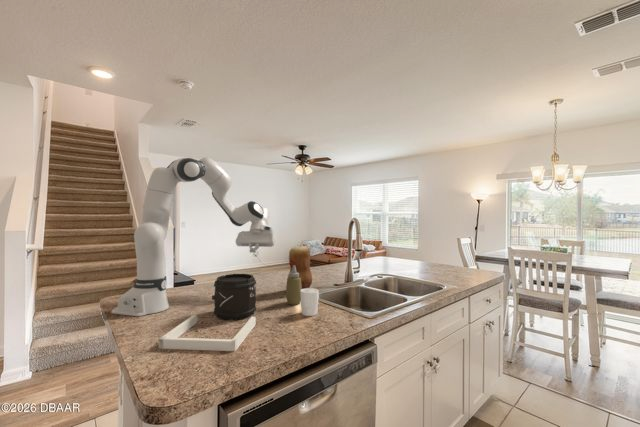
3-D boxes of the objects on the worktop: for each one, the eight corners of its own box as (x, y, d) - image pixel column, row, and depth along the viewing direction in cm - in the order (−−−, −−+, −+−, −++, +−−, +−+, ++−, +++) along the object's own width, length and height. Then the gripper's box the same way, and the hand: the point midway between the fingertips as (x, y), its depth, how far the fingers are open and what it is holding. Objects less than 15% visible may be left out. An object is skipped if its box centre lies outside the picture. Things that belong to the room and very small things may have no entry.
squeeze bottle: (305, 303, 144) (306, 265, 144) (293, 306, 138) (293, 267, 138) (294, 299, 149) (294, 263, 149) (281, 303, 143) (282, 265, 143)
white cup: (321, 312, 131) (321, 289, 131) (313, 317, 124) (313, 293, 124) (305, 309, 134) (305, 287, 134) (297, 315, 127) (297, 291, 127)
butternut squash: (282, 291, 165) (282, 245, 165) (301, 287, 174) (301, 244, 174) (298, 296, 155) (299, 248, 155) (317, 291, 164) (317, 246, 164)
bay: (158, 348, 96) (158, 339, 96) (193, 322, 118) (193, 314, 118) (235, 351, 94) (235, 341, 94) (255, 324, 116) (255, 316, 116)
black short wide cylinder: (212, 309, 134) (212, 274, 134) (253, 305, 140) (253, 272, 139) (211, 323, 117) (211, 283, 117) (257, 319, 122) (257, 280, 122)
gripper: (237, 227, 162) (231, 247, 153) (275, 227, 161) (270, 248, 151) (240, 235, 167) (234, 255, 157) (276, 235, 165) (272, 255, 156)
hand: (252, 251), depth 154 cm, fingers closed
